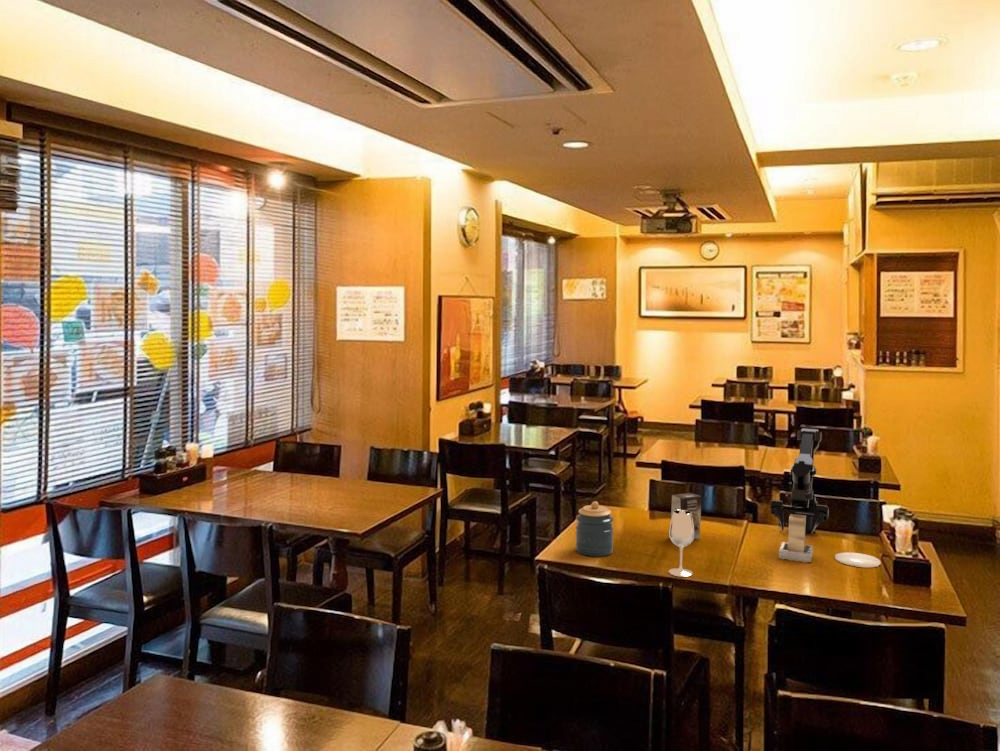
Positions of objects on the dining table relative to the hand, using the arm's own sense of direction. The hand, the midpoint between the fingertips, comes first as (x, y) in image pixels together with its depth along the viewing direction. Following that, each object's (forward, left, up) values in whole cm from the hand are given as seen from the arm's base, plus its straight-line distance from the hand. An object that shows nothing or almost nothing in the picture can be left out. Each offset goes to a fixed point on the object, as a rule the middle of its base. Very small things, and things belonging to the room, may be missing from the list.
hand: (796, 531), depth 271 cm
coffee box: (+32, -22, -9) cm, 40 cm away
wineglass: (+44, +15, -9) cm, 47 cm away
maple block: (0, 0, -9) cm, 9 cm away
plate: (-19, +5, -9) cm, 22 cm away
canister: (+68, -8, -9) cm, 69 cm away
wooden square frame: (0, 0, -9) cm, 9 cm away
